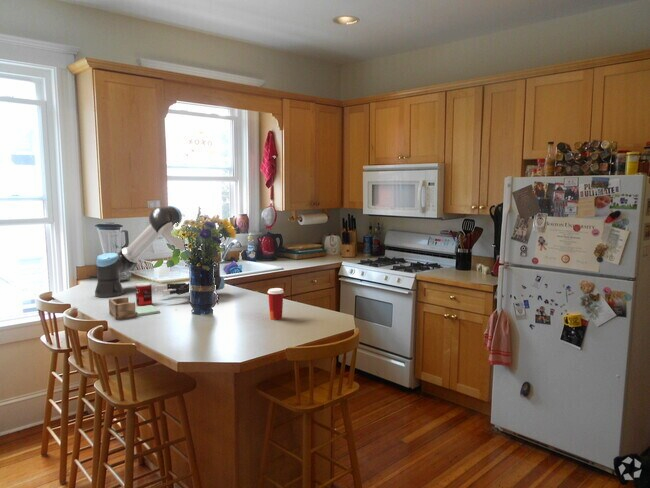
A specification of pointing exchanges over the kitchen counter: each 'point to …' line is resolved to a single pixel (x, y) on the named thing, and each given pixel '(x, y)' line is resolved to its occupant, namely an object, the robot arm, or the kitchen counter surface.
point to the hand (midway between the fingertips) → (159, 290)
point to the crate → (129, 309)
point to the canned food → (143, 294)
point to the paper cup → (275, 303)
